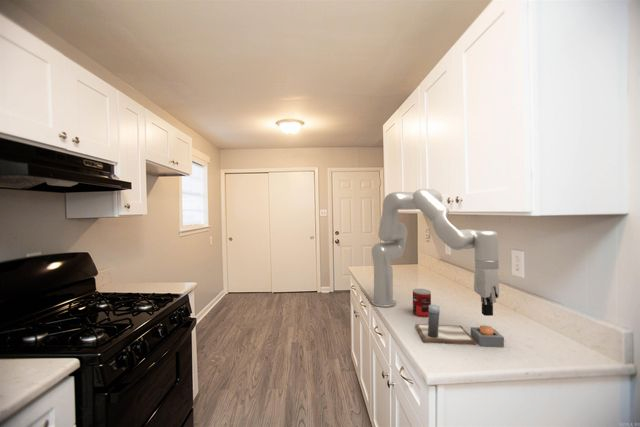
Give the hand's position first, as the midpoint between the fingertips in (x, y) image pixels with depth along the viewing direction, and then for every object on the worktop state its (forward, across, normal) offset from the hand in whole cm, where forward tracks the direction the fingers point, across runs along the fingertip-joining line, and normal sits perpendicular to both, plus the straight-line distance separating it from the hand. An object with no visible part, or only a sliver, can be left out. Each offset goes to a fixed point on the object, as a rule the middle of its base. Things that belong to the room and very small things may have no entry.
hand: (487, 314), depth 104 cm
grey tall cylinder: (+8, 0, -19) cm, 21 cm away
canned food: (+10, -26, -17) cm, 33 cm away
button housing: (+10, 0, 0) cm, 10 cm away
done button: (+8, 0, 0) cm, 8 cm away
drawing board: (+10, -4, -14) cm, 18 cm away
